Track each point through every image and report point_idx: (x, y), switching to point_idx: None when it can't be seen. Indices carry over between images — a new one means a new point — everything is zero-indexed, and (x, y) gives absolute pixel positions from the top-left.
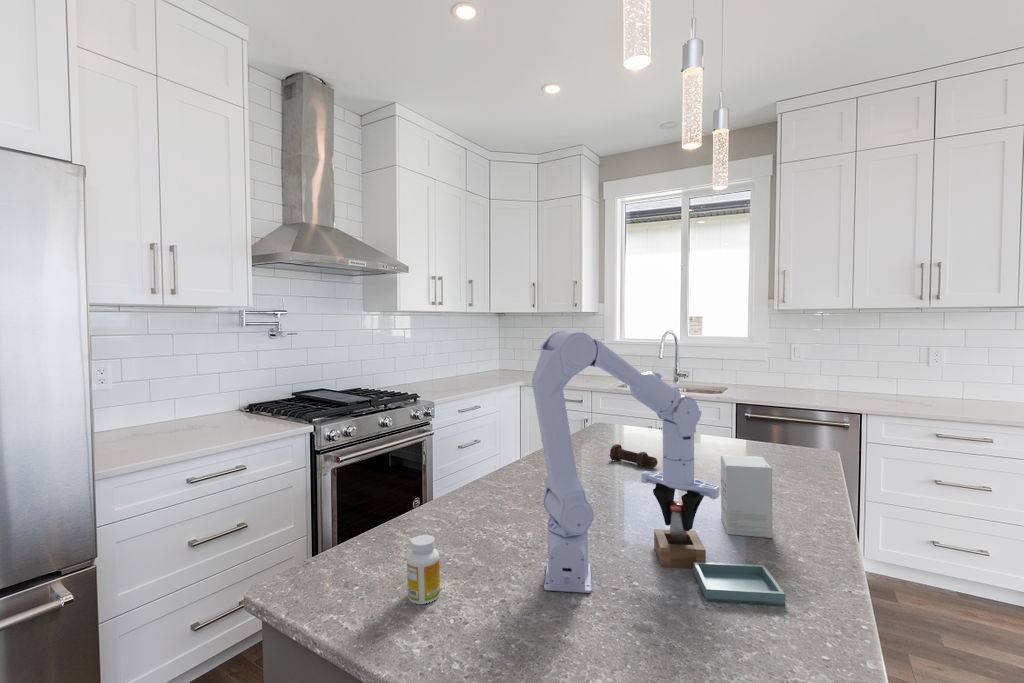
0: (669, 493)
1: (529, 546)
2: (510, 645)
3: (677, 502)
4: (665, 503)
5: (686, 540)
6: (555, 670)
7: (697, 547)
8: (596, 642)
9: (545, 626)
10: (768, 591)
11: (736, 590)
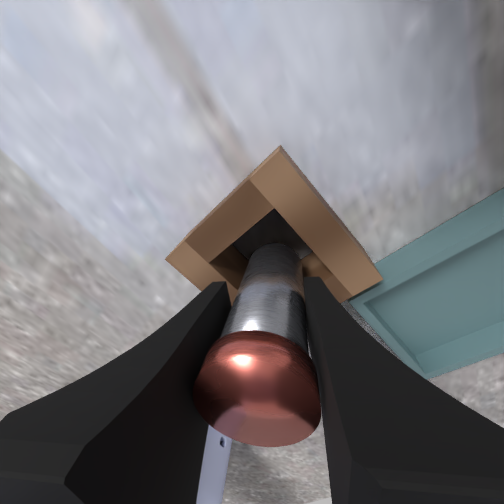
0: (166, 477)
1: (64, 382)
2: (251, 495)
3: (234, 389)
4: (203, 442)
5: (302, 273)
6: (306, 500)
7: (351, 282)
8: (312, 472)
9: (252, 474)
10: None
11: (493, 353)
